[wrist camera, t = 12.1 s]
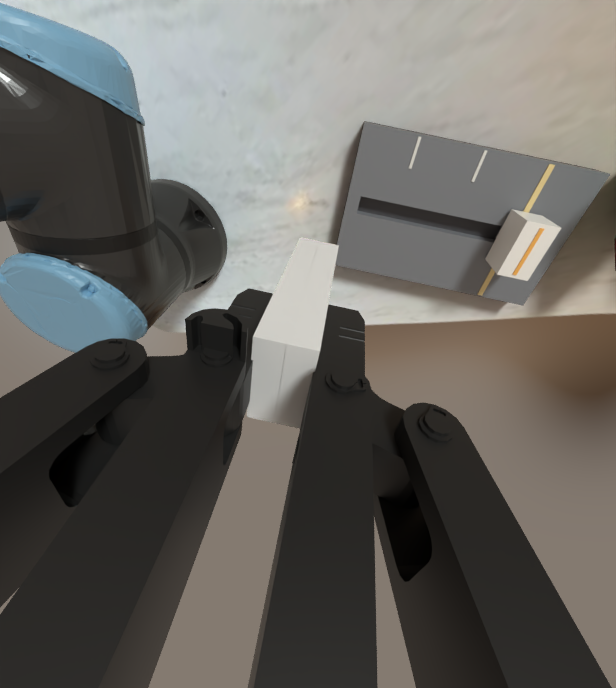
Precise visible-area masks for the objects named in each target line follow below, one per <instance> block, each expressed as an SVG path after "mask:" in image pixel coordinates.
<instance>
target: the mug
mask: <svg viewBox="0 0 616 688" xmlns="http://www.w3.org/2000/svg"><path fill="white" fill-rule="evenodd" d="M614 243H615V269H616V236H615V239H614Z"/></svg>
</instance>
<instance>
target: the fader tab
mask: <svg viewBox="0 0 616 688" xmlns="http://www.w3.org/2000/svg"><path fill="white" fill-rule="evenodd" d="M560 230H561V227H559V226H558V225H556V224H555V223H553V222H551V221H550V220H548V219H547V218H545V217H544V216H542V215H537V214H532V213H528V212H523V211H518V210H513V209H511V211H510V213H509V215H508V217H507V219H506V221H505V222H504V224H503V226H502V227H501V228H500V230H499V232H498V233H497V235H496V237H495V238H496V239H495V241H494V243H493V245H492V247H491V249H490V251H489V253H488V255H487V257H486V258H485V260H486V261H487V262H488V263H489V265H490V266H491V267H492V269H493V270H494V271H495V273H496V274H497V275H502V276H506V277H511V278H516V279H520V280H525V281H528V280H529V278H530V276H531V275H532V273H533V272H534V270H535V269H536V267H537V266H538V264H539V262H540V261H541V259H542V258H543V256H544V255H545V253H546V251H547V250H548V248H549V247H550V245H551V244H552V242H553V241H554V239H555V237H556V236H557V234H558V233H559V231H560Z"/></svg>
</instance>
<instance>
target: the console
mask: <svg viewBox="0 0 616 688" xmlns="http://www.w3.org/2000/svg"><path fill="white" fill-rule="evenodd" d="M609 176H610V174H608V173H605V172H601V171H598V170H595V169H590V168H585V167H580V166H576V165H571V164H566V163H561V162H557V161H552V160H547V159H542V158H538V157H533V156H528V155H523V154H518V153H514V152H509V151H504V150H499V149H495V148H490V147H485V146H480V145H476V144H471V143H466V142H461V141H456V140H452V139H447V138H442V137H437V136H433V135H428V134H423V133H418V132H414V131H409V130H404V129H399V128H394V127H390V126H385V125H380V124H375V123H371V122H366V121H364V125H363V129H362V134H361V138H360V143H359V147H358V152H357V156H356V161H355V165H354V170H353V174H352V178H351V183H350V187H349V192H348V196H347V201H346V205H345V210H344V214H343V219H342V223H341V227H340V232H339V236H338V241H337V245H339V247H338V253H337V258H336V264H335V265H337V266H341V267H346V268H351V269H355V270H360V271H365V272H369V273H374V274H379V275H383V276H388V277H393V278H397V279H402V280H407V281H411V282H416V283H420V284H425V285H430V286H434V287H439V288H444V289H448V290H453V291H458V292H462V293H467V294H472V295H476V296H481V297H486V298H490V299H495V300H500V301H504V302H509V303H514V304H518V305H524V303H525V302H526V300H527V299H528V297H529V296H530V294H531V293H532V291H533V290H534V288H535V287H536V285H537V284H538V282H539V281H540V279H541V278H542V276H543V275H544V273H545V272H546V270H547V269H548V267H549V266H550V264H551V263H552V261H553V260H554V258H555V257H556V255H557V254H558V252H559V251H560V249H561V248H562V246H563V245H564V243H565V242H566V240H567V239H568V237H569V236H570V234H571V233H572V231H573V230H574V228H575V227H576V225H577V224H578V222H579V221H580V219H581V218H582V216H583V215H584V213H585V212H586V210H587V209H588V207H589V206H590V204H591V203H592V201H593V200H594V198H595V197H596V195H597V194H598V192H599V191H600V189H601V188H602V186H603V185H604V183H605V182H606V180H607V179H608V177H609ZM511 209H513V210H518V211H523V212H528V213H532V214H537V215H542V216H544V217H545V218H547V219H548V220H550V221H551V222H553V223H555V224H556V225H558V226H559V227H561V230H560V231H559V233H558V234H557V236H556V237H555V239H554V241H553V242H552V244H551V245H550V247H549V248H548V250H547V251H546V253H545V255H544V256H543V258H542V259H541V261H540V262H539V264H538V266H537V267H536V269H535V270H534V272H533V273H532V275H531V276H530V278H529V280H528V281H525V280H520V279H516V278H511V277H506V276H502V275H497V274H496V273H495V271H494V270H493V269H492V267H491V266H490V265H489V263H488V262H487V261H486V260H485V258H486V257H487V255H488V253H489V251H490V249H491V247H492V245H493V243H494V241H495V239H496V238H495V237H496V235H497V233H498V232H499V230H500V228H501V227H502V226H503V224H504V222H505V221H506V219H507V217H508V215H509V213H510V211H511Z"/></svg>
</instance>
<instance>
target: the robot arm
mask: <svg viewBox="0 0 616 688" xmlns="http://www.w3.org/2000/svg"><path fill="white" fill-rule="evenodd" d="M143 126H145V122H144V119H143V117H142V116H141V114H140V109H139V103H138V98H137V93H136V88H135V82H134V77H133V74H132V71H131V69H130V66H129V65H128V63H127V61H126V60H125V59H124V57H123V56H122V55H121V54H120V53H119V52H118V51H117V50H116V49H115V48H113V47H112V46H110V45H109V44H107V43H105V42H103V41H101V40H99V39H97V38H95V37H92V36H90V35H88V34H86V33H83V32H81V31H78V30H75V29H73V28H70V27H68V26H65V25H63V24H60V23H57V22H55V21H52V20H49V19H46V18H44V17H41V16H38V15H35V14H32V13H29V12H26V11H23V10H20V9H17V8H14V7H11V6H8V5H5V4H2V3H0V222H1V221H6V223H7V225H8V227H9V230H10V232H11V235H12V237H13V239H14V242H15V244H16V246H17V249H18V252H19V254H16V255H12V256H10V257H9V258H7V259H6V260H5V262H4V264H2V265H1V267H0V296H1V297H2V299H3V301H4V302H5V304H6V305H7V306H8V308H9V309H10V310H11V312H12V313H13V314H14V315H15V316H16V317H17V318H18V319H19V320H20V321H21V322H22V323H23V324H25V325H26V326H27V327H28V328H29V329H31V330H32V331H33V332H35V333H36V334H38V335H39V336H41V337H43V338H45V339H46V340H48V341H49V342H51V343H53V344H55V345H57V346H59V347H61V348H64V349H66V350H69V351H71V352H75V353H74V354H73V355H71V356H69V357H68V358H66V359H64V360H63V361H61V362H59V363H58V364H56V365H54V366H53V367H51V368H50V369H48V370H46V371H44V372H43V373H41V374H39V375H38V376H36V377H34V378H33V379H31V380H29V381H28V382H26V383H25V384H23V385H21V386H19V387H18V388H16V389H14V390H13V391H11V392H10V393H8V394H6V395H4V396H3V397H1V398H0V607H1V606H2V605H3V604H4V603H5V602H6V601H7V599H9V597H10V596H11V595H12V594H13V593H14V592H15V591H16V590H17V589H18V588H19V589H18V590H17V592H16V593H15V595H14V596H13V598H12V599H11V600H10V602H9V603H8V604H7V606H6V607H5V609H4V610H3V612H2V613H1V614H0V688H148V687H149V684H150V681H151V678H152V676H153V673H154V670H155V667H156V665H157V662H158V659H159V656H160V654H161V651H162V648H163V646H164V643H165V640H166V638H167V635H168V632H169V629H170V626H171V624H172V621H173V618H174V616H175V613H176V610H177V608H178V605H179V602H180V599H181V597H182V594H183V591H184V588H185V586H186V583H187V580H188V577H189V575H190V572H191V569H192V566H193V564H194V561H195V558H196V556H197V553H198V550H199V548H200V545H201V542H202V539H203V537H204V534H205V531H206V529H207V526H208V523H209V520H210V518H211V515H212V512H213V509H214V507H215V504H216V501H217V499H218V496H219V493H220V490H221V487H222V485H223V482H224V479H225V477H226V474H227V471H228V469H229V466H230V463H231V460H232V458H233V455H234V452H235V449H236V447H237V444H238V441H239V439H240V436H241V431H242V420H243V418H244V415H245V412H246V409H247V417H250V418H255V419H259V420H264V421H268V422H273V423H277V424H282V425H286V426H291V427H295V428H300V433H299V437H298V441H297V445H296V450H295V454H294V458H293V462H292V463H293V465H292V471H291V475H290V480H289V485H288V490H287V495H286V500H285V505H284V510H283V515H282V520H281V525H280V530H279V535H278V540H277V545H276V550H275V555H274V560H273V565H272V570H271V575H270V580H269V585H268V590H267V595H266V600H265V605H264V609H263V615H262V619H261V625H260V629H259V634H258V639H257V645H256V649H255V654H254V660H253V664H252V670H251V674H250V680H249V684H248V688H377V650H376V649H377V646H376V600H375V549H374V517H375V521H376V525H377V529H378V534H379V537H380V542H381V546H382V550H383V554H384V558H385V562H386V566H387V570H388V574H389V578H390V583H391V586H392V591H393V594H394V599H395V602H396V606H397V611H398V615H399V619H400V623H401V627H402V631H403V636H404V640H405V644H406V648H407V652H408V656H409V660H410V664H411V668H412V672H413V676H414V681H415V685H416V688H611V686H610V684H609V682H608V681H607V679H606V677H605V675H604V673H603V672H602V670H601V668H600V667H599V665H598V663H597V661H596V659H595V658H594V656H593V654H592V652H591V651H590V649H589V647H588V645H587V644H586V642H585V640H584V638H583V636H582V635H581V633H580V631H579V629H578V628H577V626H576V624H575V622H574V621H573V619H572V617H571V615H570V614H569V612H568V610H567V608H566V607H565V605H564V603H563V601H562V600H561V598H560V596H559V594H558V592H557V591H556V589H555V587H554V586H553V584H552V582H551V580H550V578H549V577H548V575H547V573H546V571H545V569H544V568H543V566H542V564H541V562H540V561H539V559H538V557H537V555H536V554H535V552H534V550H533V548H532V547H531V545H530V543H529V541H528V540H527V538H526V536H525V534H524V532H523V531H522V529H521V527H520V525H519V524H518V522H517V520H516V518H515V517H514V515H513V513H512V511H511V510H510V508H509V506H508V504H507V502H506V501H505V499H504V497H503V496H502V494H501V492H500V490H499V488H498V487H497V485H496V483H495V482H494V480H493V478H492V476H491V474H490V472H489V471H488V469H487V467H486V466H485V464H484V462H483V460H482V458H481V457H480V455H479V453H478V451H477V450H476V448H475V446H474V444H473V443H472V441H471V439H470V437H469V435H468V434H467V432H466V430H465V428H464V427H463V426H462V425H461V423H460V422H459V421H458V419H457V418H456V417H454V416H453V415H452V414H450V413H449V412H448V411H447V410H445V409H443V408H440V407H438V406H436V405H433V404H428V403H417V404H413V405H411V406H410V407H408V408H407V409H406V410H403V409H401V408H398V407H396V406H394V405H392V404H390V403H388V402H386V401H385V400H383V399H381V398H380V397H379V396H377V395H376V394H375V393H374V392H373V391H372V390H371V387H370V383H369V381H368V379H367V378H366V377H365V343H364V341H365V334H364V331H365V321H364V319H363V318H362V316H361V315H360V313H359V311H356V310H351V309H347V308H342V307H337V306H333V305H328V303H329V298H330V292H331V287H332V281H333V275H334V270H335V264H336V258H337V253H338V247H339V245H335V244H330V243H326V242H321V241H316V240H312V239H307V238H302V237H300V238H299V240H298V243H297V245H296V247H295V249H294V251H293V253H292V255H291V257H290V259H289V262H288V264H287V266H286V268H285V270H284V272H283V274H282V276H281V278H280V281H279V283H278V285H277V287H276V289H275V291H274V293H273V294H272V293H267V292H263V291H258V290H253V289H247V290H245V291H244V292H242V293H240V294H238V295H237V296H236V298H235V299H234V301H233V302H232V304H231V306H230V307H229V308H228V310H225V309H205V310H201V311H198V312H195V313H192V314H191V315H190V316H189V317H187V318H186V319H185V323H186V336H187V348H188V350H187V351H186V353H185V354H184V355H180V356H159V357H158V356H152V357H151V356H150V357H147V354H146V351H145V349H144V347H143V346H142V345H141V344H139V343H138V342H136V340H137V339H139V338H141V337H143V336H144V335H145V334H146V332H147V330H148V329H149V328H150V327H151V326H152V325H153V324H154V323H155V321H156V320H157V319H158V318H159V317H160V316H161V315H162V314H163V313H164V312H165V310H166V309H167V308H168V307H169V306H170V305H171V304H172V303H173V302H174V301H175V300H176V298H177V297H178V296H179V295H180V294H181V293H183V292H186V291H189V290H193V289H196V288H199V287H201V286H203V285H205V284H207V283H208V282H210V281H211V280H212V279H213V278H214V277H215V276H216V274H217V273H218V272H219V271H220V269H221V268H222V266H223V264H224V262H225V259H226V254H227V239H226V234H225V230H224V227H223V225H222V222H221V220H220V218H219V216H218V215H217V213H216V211H215V210H214V209H213V207H212V206H211V205H210V204H209V203H208V201H207V200H206V199H205V198H204V197H202V196H201V195H200V194H199V193H198V192H196V191H195V190H193V189H192V188H190V187H188V186H186V185H184V184H182V183H179V182H176V181H173V180H167V179H156V180H151V179H150V172H149V165H148V157H147V150H146V143H145V136H144V129H143ZM247 407H248V408H247Z"/></svg>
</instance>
